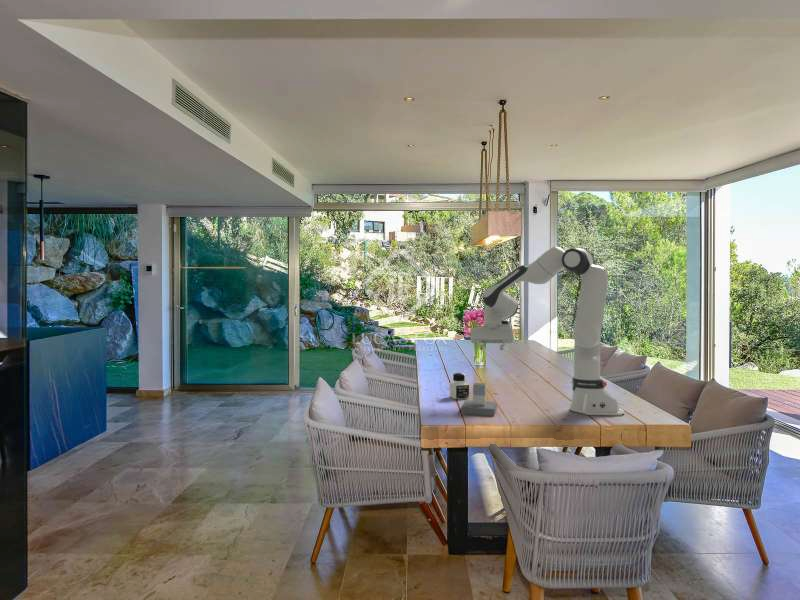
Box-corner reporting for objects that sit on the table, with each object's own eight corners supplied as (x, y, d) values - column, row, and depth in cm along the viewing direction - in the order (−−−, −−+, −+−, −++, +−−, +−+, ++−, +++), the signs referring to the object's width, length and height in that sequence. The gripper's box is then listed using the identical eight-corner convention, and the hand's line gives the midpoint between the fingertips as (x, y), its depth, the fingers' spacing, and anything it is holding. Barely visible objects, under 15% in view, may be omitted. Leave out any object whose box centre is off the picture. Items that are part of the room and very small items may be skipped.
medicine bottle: (456, 399, 258) (456, 375, 257) (449, 397, 264) (449, 372, 264) (469, 398, 260) (469, 374, 260) (462, 395, 267) (462, 371, 267)
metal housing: (485, 403, 236) (485, 383, 236) (484, 406, 231) (484, 385, 231) (474, 403, 237) (474, 382, 237) (473, 405, 232) (473, 384, 232)
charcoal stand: (496, 408, 239) (496, 402, 239) (494, 416, 226) (494, 409, 226) (465, 406, 243) (465, 400, 243) (461, 414, 229) (461, 407, 229)
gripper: (470, 322, 257) (468, 344, 247) (513, 321, 252) (513, 344, 243) (471, 330, 261) (469, 353, 252) (514, 330, 256) (513, 353, 247)
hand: (491, 349), depth 247 cm, fingers open, 8 cm apart
